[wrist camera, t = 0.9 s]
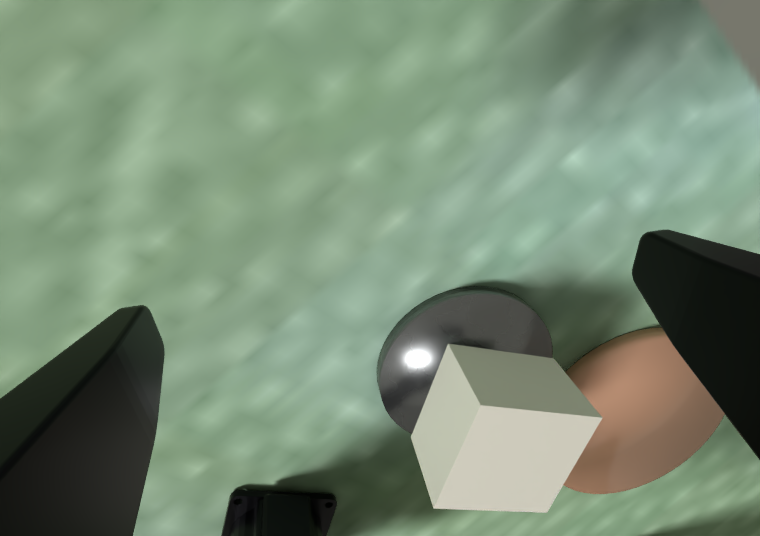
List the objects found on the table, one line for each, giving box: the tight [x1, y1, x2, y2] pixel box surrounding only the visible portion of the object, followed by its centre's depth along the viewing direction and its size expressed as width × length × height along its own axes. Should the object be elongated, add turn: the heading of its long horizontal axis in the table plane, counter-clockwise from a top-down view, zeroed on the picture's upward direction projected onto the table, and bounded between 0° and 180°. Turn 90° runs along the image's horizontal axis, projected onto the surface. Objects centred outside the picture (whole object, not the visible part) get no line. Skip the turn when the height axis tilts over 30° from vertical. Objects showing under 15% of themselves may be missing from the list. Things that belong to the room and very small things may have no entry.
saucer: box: [563, 327, 724, 494], centre depth 32 cm, size 13×13×1 cm
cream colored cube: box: [411, 344, 602, 513], centre depth 23 cm, size 6×6×4 cm
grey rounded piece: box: [377, 286, 552, 434], centre depth 25 cm, size 10×10×6 cm
